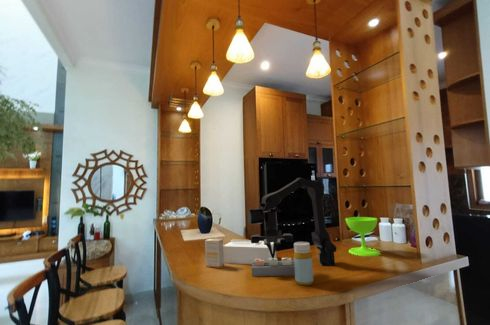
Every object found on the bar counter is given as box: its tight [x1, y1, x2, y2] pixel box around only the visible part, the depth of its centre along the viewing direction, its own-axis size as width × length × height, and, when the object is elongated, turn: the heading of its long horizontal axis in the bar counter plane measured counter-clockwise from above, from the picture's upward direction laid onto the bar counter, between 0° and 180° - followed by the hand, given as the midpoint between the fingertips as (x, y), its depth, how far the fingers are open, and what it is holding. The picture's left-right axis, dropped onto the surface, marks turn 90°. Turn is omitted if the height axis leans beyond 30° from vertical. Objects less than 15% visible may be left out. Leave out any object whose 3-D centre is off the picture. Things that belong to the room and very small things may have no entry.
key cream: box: [281, 257, 292, 265], centre depth 109 cm, size 4×4×2 cm
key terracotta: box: [255, 258, 264, 266], centre depth 110 cm, size 4×4×2 cm
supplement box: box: [204, 238, 225, 269], centre depth 123 cm, size 8×5×13 cm, turn 65°
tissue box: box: [223, 238, 277, 265], centre depth 131 cm, size 14×25×11 cm, turn 70°
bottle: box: [293, 241, 314, 287], centre depth 97 cm, size 7×7×15 cm
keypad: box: [251, 260, 295, 277], centre depth 109 cm, size 19×9×4 cm, turn 85°
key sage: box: [268, 257, 279, 266], centre depth 110 cm, size 4×4×2 cm
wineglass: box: [344, 216, 382, 258], centre depth 134 cm, size 16×16×18 cm
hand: (272, 257), depth 110 cm, fingers closed
